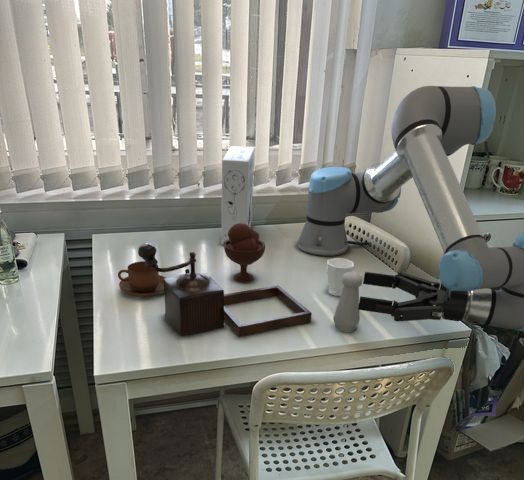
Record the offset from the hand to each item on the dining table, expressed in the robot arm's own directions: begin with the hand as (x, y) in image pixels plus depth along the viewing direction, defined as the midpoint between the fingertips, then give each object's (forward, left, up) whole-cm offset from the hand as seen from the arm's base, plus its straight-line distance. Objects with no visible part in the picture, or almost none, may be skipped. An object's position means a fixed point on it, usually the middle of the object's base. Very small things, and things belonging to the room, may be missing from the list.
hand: (361, 289), depth 111 cm
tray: (+17, -14, -10) cm, 24 cm away
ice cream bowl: (+12, -34, -10) cm, 38 cm away
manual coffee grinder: (+35, -16, -10) cm, 40 cm away
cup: (-7, -19, -10) cm, 23 cm away
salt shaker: (+2, -1, -10) cm, 10 cm away
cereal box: (-1, -67, -10) cm, 68 cm away
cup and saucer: (+38, -36, -10) cm, 53 cm away
